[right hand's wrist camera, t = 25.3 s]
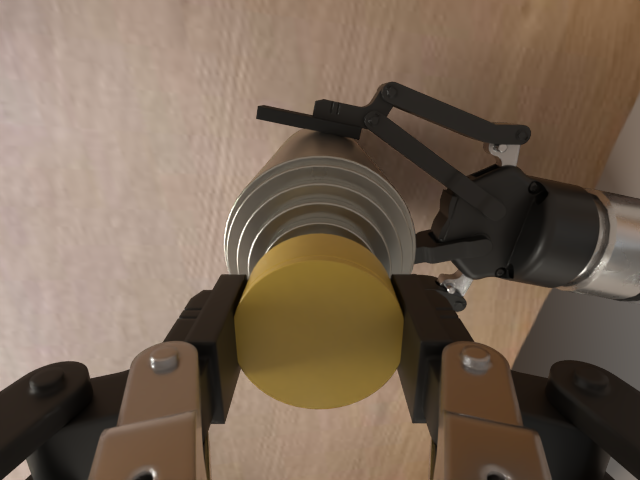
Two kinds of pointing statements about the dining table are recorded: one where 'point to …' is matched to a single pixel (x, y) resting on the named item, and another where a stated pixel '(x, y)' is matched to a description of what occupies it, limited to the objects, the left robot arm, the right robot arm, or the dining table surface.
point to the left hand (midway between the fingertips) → (251, 176)
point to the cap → (319, 323)
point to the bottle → (320, 204)
